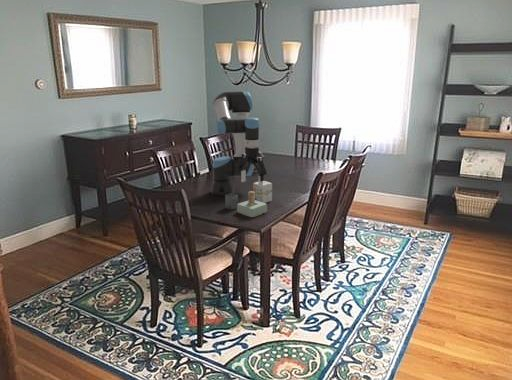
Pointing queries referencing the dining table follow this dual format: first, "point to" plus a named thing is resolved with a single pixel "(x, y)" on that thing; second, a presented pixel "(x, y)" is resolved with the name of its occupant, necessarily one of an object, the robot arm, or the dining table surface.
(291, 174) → the dining table surface
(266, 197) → the ink box
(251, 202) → the birch dowel
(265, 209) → the socket block
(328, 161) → the dining table surface
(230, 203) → the dark grey block
